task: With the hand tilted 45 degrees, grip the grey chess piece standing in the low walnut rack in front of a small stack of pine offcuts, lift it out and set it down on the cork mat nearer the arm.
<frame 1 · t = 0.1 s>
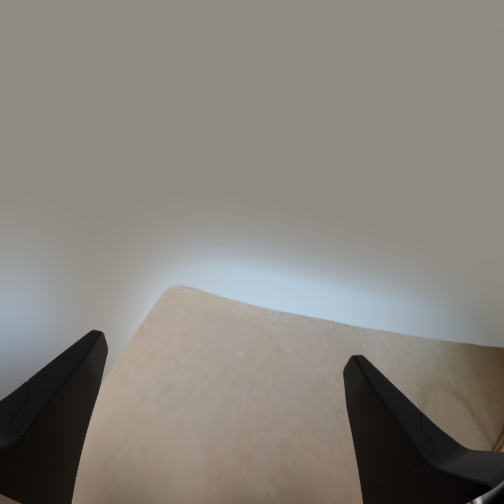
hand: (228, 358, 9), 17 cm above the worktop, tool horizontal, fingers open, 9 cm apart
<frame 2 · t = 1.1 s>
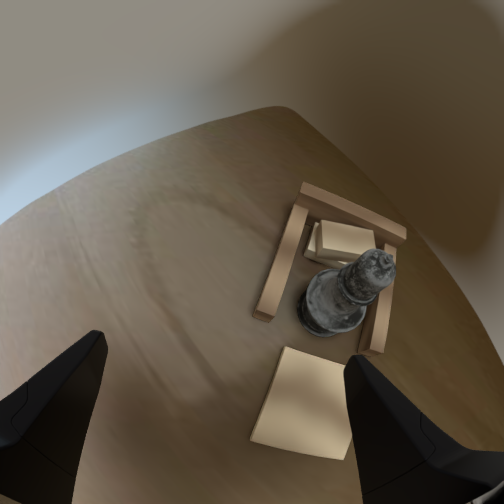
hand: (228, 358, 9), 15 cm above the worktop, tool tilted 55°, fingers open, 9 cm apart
grey chess piece: (322, 311, 26), on the worktop
offcut lower: (333, 255, 30), on the worktop, touching offcut upper
rack: (323, 310, 26), on the worktop
offcut upper: (341, 248, 28), point 1 cm above the worktop, touching offcut lower, rack
cork mat: (313, 407, 21), on the worktop
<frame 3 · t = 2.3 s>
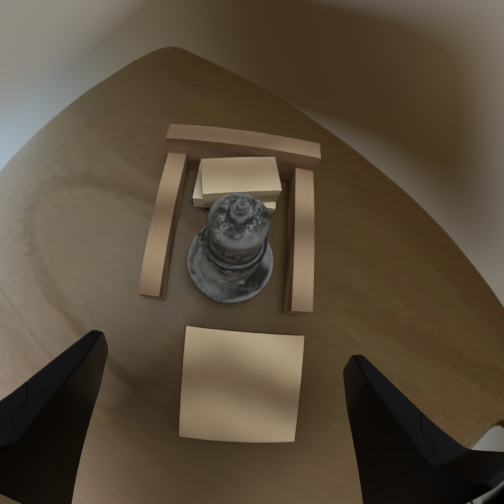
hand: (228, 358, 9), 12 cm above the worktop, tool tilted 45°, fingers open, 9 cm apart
grey chess piece: (227, 271, 22), on the worktop
offcut lower: (234, 195, 25), on the worktop, touching offcut upper
rack: (227, 270, 22), on the worktop
offcut upper: (238, 186, 23), point 2 cm above the worktop, touching offcut lower
cork mat: (240, 388, 19), on the worktop
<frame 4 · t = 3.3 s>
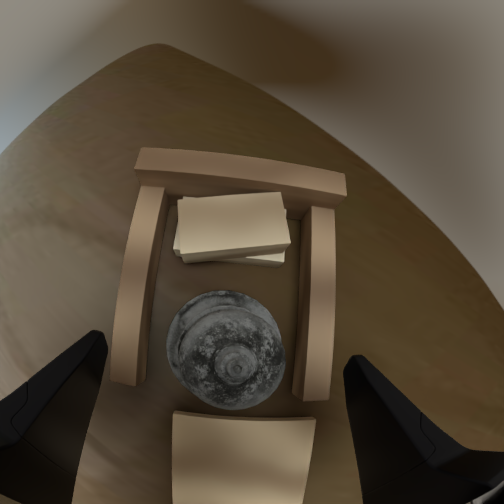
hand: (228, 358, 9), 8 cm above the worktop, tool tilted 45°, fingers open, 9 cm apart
grey chess piece: (222, 344, 17), on the worktop
offcut lower: (230, 238, 19), on the worktop, touching offcut upper
rack: (222, 344, 16), on the worktop
offcut upper: (231, 233, 17), point 2 cm above the worktop, touching offcut lower
cork mat: (240, 472, 14), on the worktop
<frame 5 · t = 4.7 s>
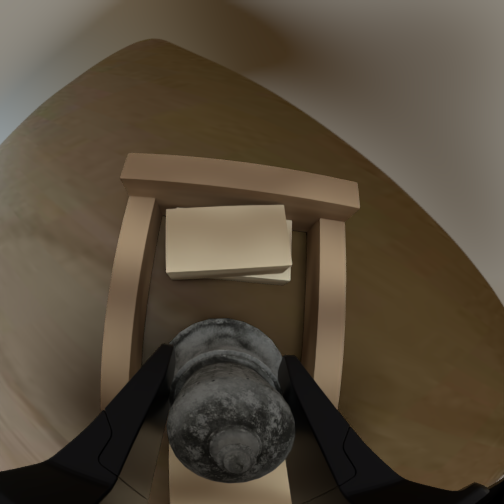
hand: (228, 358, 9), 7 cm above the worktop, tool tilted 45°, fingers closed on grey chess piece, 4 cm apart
grey chess piece: (220, 369, 15), on the worktop, touching gripper
offcut lower: (229, 252, 17), on the worktop, touching offcut upper
rack: (221, 370, 15), on the worktop
offcut upper: (225, 248, 15), point 2 cm above the worktop, touching offcut lower
cork mat: (240, 496, 12), on the worktop
when the fingers open (8 cm above the worktop, at t = 7.4 s): grey chess piece stays where it is, resting on cork mat.
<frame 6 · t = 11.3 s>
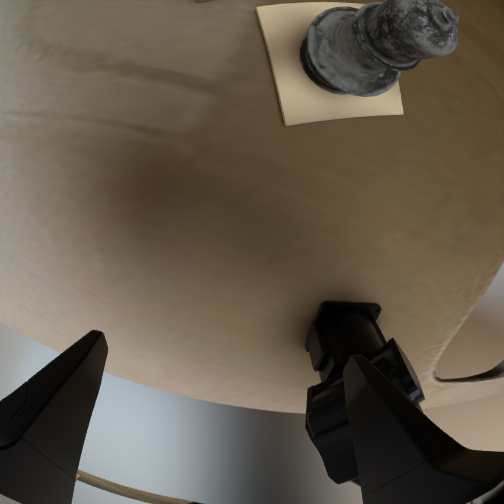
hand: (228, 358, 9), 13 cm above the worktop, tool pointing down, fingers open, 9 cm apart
grey chess piece: (337, 59, 14), point 1 cm above the worktop, touching cork mat
cork mat: (333, 58, 15), on the worktop
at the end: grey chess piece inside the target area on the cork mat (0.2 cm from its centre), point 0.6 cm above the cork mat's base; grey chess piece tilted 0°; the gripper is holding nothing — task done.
